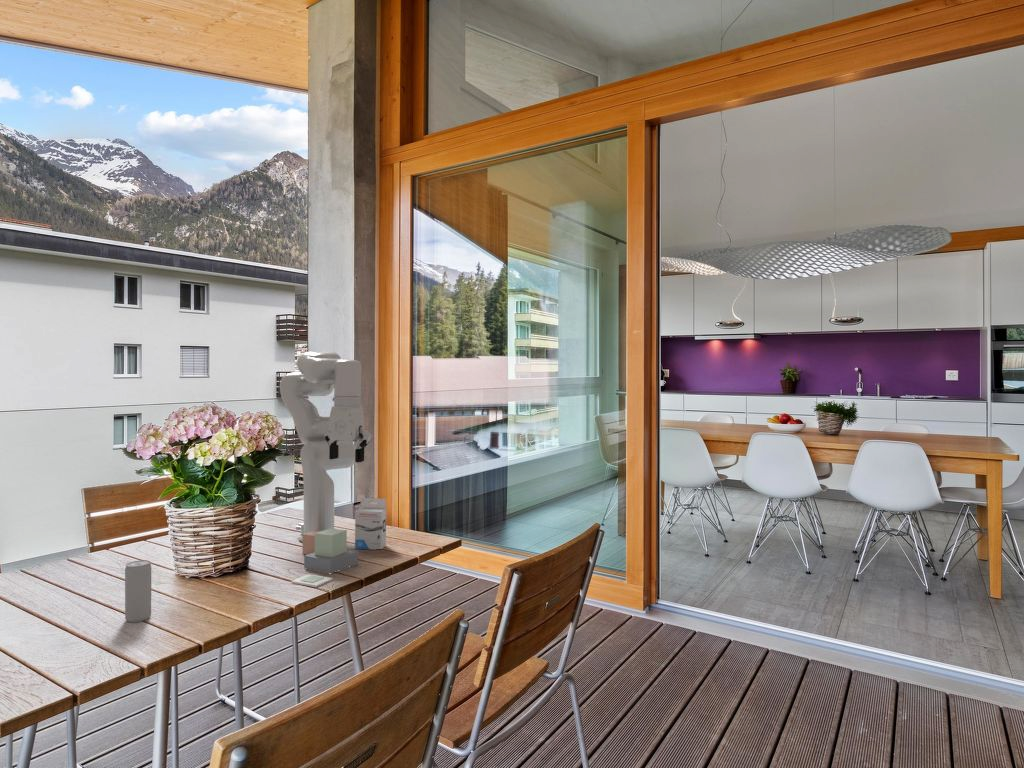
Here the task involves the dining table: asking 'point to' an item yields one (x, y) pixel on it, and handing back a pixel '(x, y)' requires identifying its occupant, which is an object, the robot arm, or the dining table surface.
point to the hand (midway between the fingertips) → (346, 460)
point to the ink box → (370, 524)
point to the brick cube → (309, 542)
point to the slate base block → (330, 561)
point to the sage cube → (330, 542)
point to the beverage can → (138, 591)
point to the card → (311, 580)
